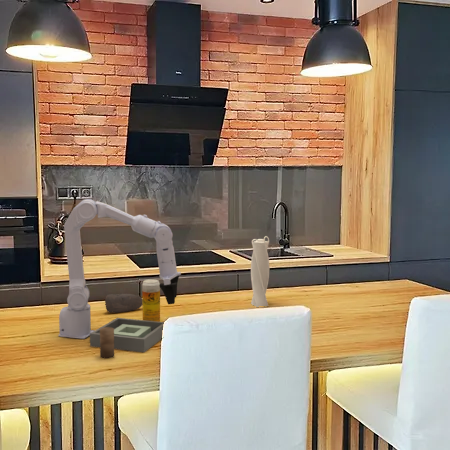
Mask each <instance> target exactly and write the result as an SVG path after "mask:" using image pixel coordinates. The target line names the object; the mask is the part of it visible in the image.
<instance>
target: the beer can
mask: <svg viewBox="0 0 450 450" xmlns="http://www.w3.org/2000/svg"><path fill="white" fill-rule="evenodd" d="M160 284H161V283H160V280H159V279H158V280H157V279H145V280H143V282H142V284H141V286H142V287H141V288H142V291H141V292H142V295H141V298H142V304H143V305H142V320H146V321H157V322H161V288H160V286H159V285H160Z"/></svg>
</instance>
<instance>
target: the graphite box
mask: <svg viewBox="0 0 450 450" xmlns="http://www.w3.org/2000/svg"><path fill="white" fill-rule="evenodd" d="M164 322H165V321H160V322H157V321H146V320H143V319H134V318H124V317H115V318H114V319H113V320H111V321H108V323H106V324H104V325H102V326H100V327H99V328H97V329H95V331H93V332H92V333H90V336H89V346H90V347H95V348H100V329H101V328H105V327H111V328H114V329H116V328H117V327H119V326H121V325H122V324H126V325H136V326H146V327H151V332H150V333H149V334H147V335H146V336H145V337H143V338H138V337H129V336H119V335H114V350H121V351H128V352H137V353H146V352H147V351H148V350H150V349H151V348H153V346H154V345H156V344H157V343H158V342H159V341H161V340H162V339H163V338H162V330H163V324H164ZM161 338H162V339H161Z"/></svg>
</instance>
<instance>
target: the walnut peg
mask: <svg viewBox="0 0 450 450" xmlns="http://www.w3.org/2000/svg"><path fill="white" fill-rule="evenodd" d="M99 357H100V358H101V359H104V360H105V359H112V358H114V357H115V349H114V328H111V327H105V328H101V329H100V347H99Z"/></svg>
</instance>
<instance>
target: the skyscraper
mask: <svg viewBox="0 0 450 450" xmlns="http://www.w3.org/2000/svg"><path fill="white" fill-rule="evenodd" d="M266 238H267V240H266ZM269 244H270V238H269V237H268V235H265V236H264V237H263V238H258V239H257V238H253V239H252V240H251V245H252V246H251V247H252V249H253V250H252V255H251V260H250V261H251V262H250V279H251V282H250V283H251V288H252V289H251V290H252V298H251V302H250V305H251V304H252V305H251V306H253V305H254V306H253V307H255V306H256V307H259V306H269V303H268V300H267V296H266V294H267V291H268V290H267V289H268V286H269V285H268V284H269V280H270V279H269V278H270V258H269V253H268V248H269ZM256 307H255V308H256ZM259 308H260V307H259Z"/></svg>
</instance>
